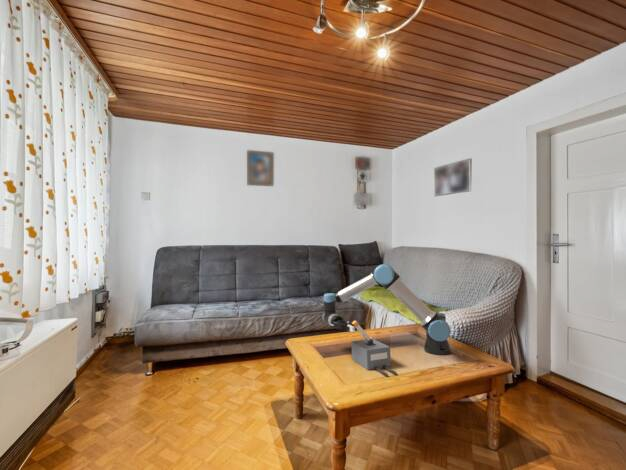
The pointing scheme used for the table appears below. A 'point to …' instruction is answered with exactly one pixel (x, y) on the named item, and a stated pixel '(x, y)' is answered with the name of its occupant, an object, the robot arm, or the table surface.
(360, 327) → the breaker lever
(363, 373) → the table surface
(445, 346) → the robot arm
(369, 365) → the grey power plug
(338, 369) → the table surface
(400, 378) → the table surface
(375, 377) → the table surface
